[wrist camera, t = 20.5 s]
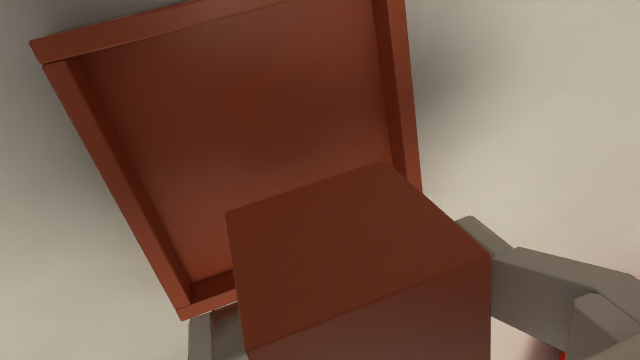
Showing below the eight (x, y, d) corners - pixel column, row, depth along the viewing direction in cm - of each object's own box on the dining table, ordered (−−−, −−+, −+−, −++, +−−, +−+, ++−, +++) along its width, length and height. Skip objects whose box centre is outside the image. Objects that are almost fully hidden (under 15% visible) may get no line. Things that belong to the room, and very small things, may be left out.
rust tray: (46, 35, 15) (26, 41, 13) (378, -46, 17) (400, -51, 15) (182, 293, 21) (181, 322, 19) (408, 211, 23) (426, 230, 22)
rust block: (224, 211, 10) (243, 350, 6) (383, 158, 11) (492, 253, 7) (270, 329, 12) (306, 486, 8) (401, 278, 13) (491, 402, 9)
